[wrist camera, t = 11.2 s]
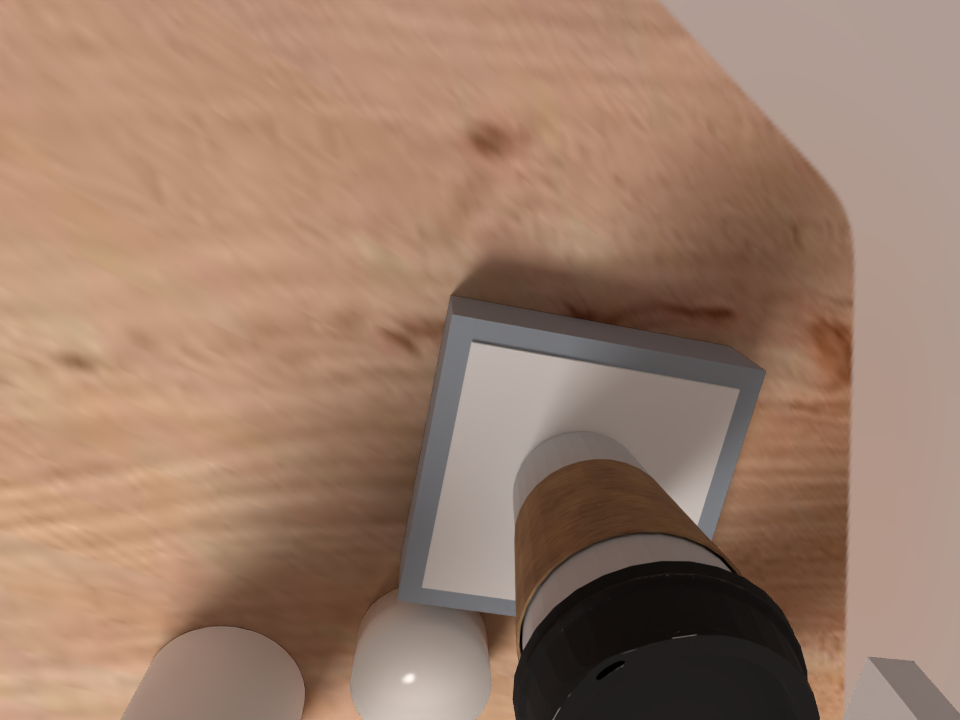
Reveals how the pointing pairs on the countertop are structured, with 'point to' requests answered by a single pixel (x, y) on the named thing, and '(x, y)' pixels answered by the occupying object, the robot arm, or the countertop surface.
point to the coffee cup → (636, 602)
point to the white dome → (420, 662)
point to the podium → (558, 433)
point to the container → (219, 679)
